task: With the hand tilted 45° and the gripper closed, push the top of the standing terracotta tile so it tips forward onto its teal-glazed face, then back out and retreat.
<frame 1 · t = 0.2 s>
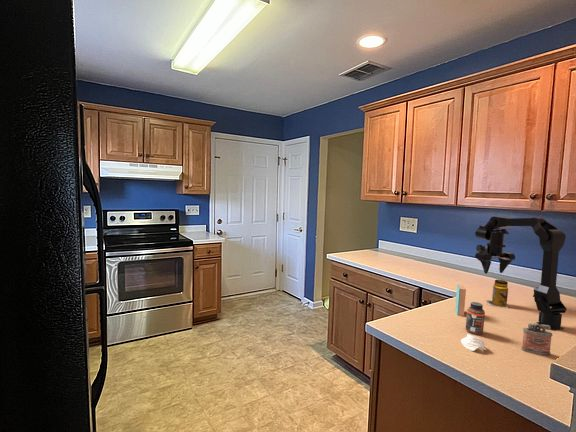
hand: (493, 273, 156), 15 cm above the worktop, fingers open, 9 cm apart
whipped cream: (472, 347, 111), on the worktop
supplement bottle: (474, 332, 123), on the worktop
lighter: (535, 352, 109), on the worktop
condiment: (496, 304, 155), on the worktop
tile: (459, 312, 142), on the worktop
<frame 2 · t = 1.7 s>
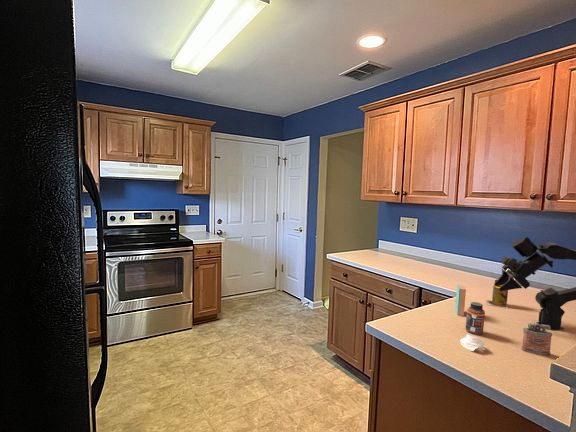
hand: (497, 287, 136), 13 cm above the worktop, fingers open, 7 cm apart
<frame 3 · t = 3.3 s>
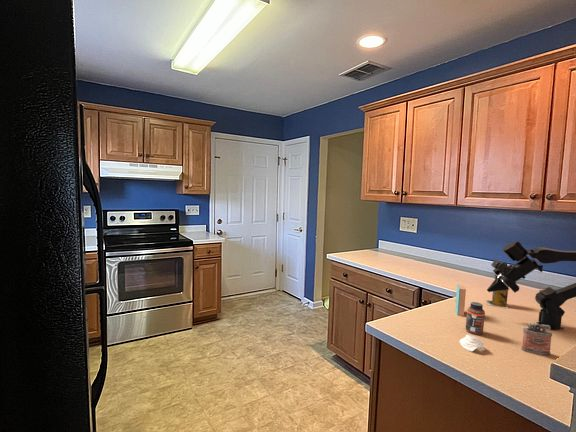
hand: (487, 290, 137), 12 cm above the worktop, fingers closed
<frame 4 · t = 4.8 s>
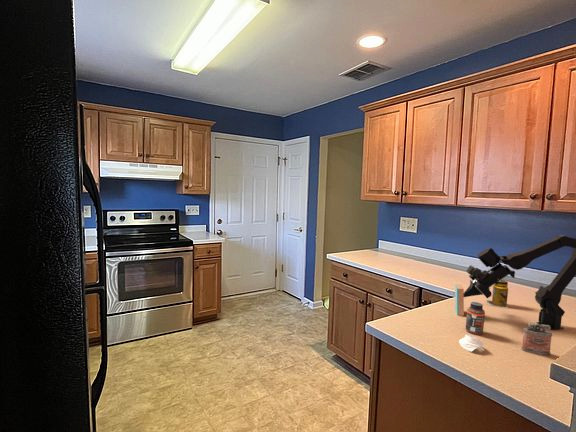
hand: (463, 296, 141), 8 cm above the worktop, fingers closed
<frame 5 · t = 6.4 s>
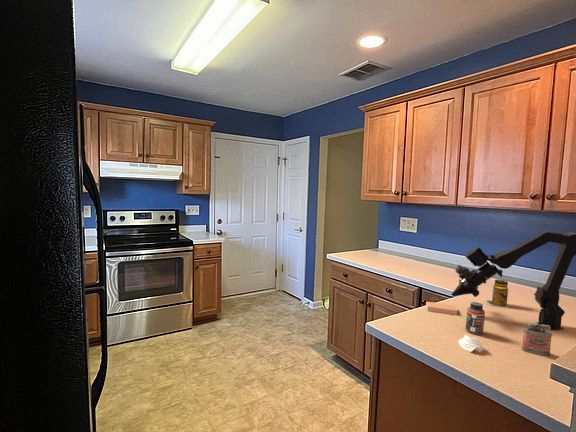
hand: (452, 295, 143), 8 cm above the worktop, fingers closed
tile: (455, 310, 143), point 1 cm above the worktop, tilted 90°
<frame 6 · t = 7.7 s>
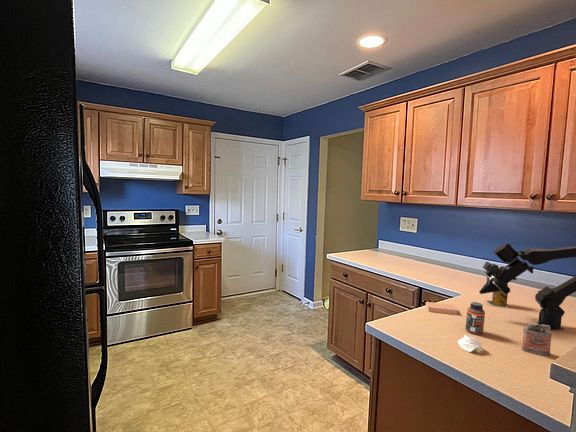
hand: (480, 293, 139), 10 cm above the worktop, fingers closed
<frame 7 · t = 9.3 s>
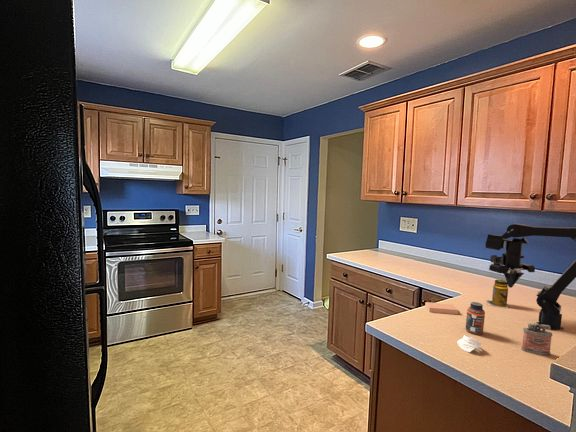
hand: (510, 287, 139), 13 cm above the worktop, fingers closed
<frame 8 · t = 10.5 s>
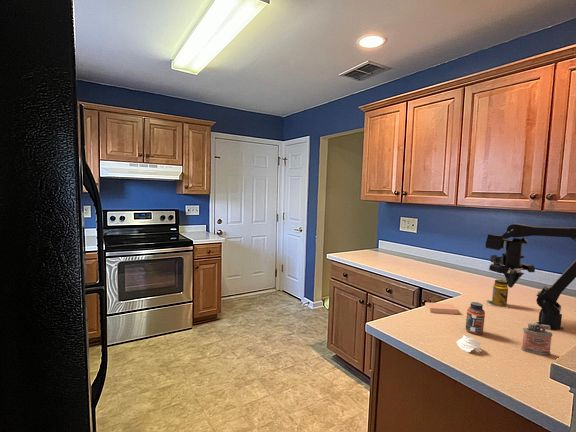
hand: (510, 287, 139), 13 cm above the worktop, fingers closed
at the end: tile tilted 90°; tile inside the target area (1.6 cm from its centre), point 0.7 cm above the worktop; the gripper is holding nothing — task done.
